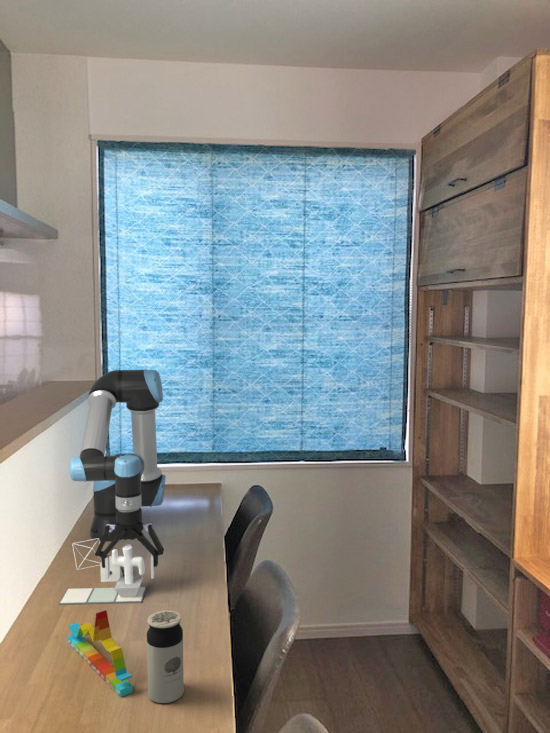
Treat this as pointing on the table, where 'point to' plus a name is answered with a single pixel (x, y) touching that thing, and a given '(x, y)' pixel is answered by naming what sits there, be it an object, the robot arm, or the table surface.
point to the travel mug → (165, 657)
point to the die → (112, 572)
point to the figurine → (128, 572)
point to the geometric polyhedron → (87, 554)
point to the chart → (109, 673)
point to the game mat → (99, 596)
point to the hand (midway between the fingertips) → (130, 577)
